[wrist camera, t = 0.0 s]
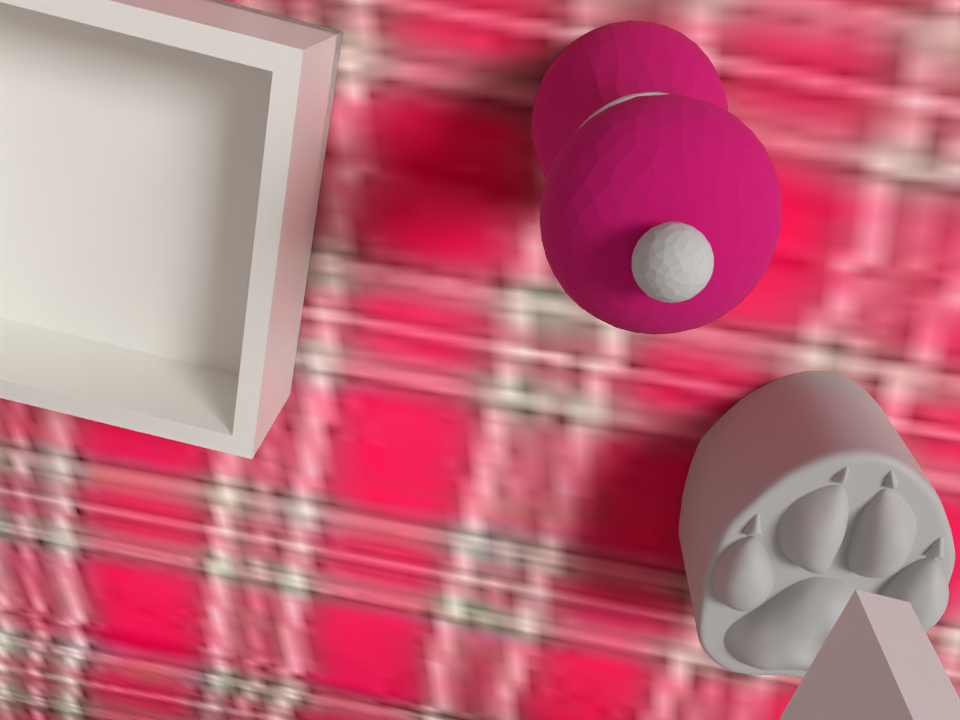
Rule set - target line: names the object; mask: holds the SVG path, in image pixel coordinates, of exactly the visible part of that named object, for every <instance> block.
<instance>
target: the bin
mask: <svg viewBox="0 0 960 720" xmlns="http://www.w3.org/2000/svg"><path fill="white" fill-rule="evenodd" d="M342 35H343V32H342V31H338V30H334V29H330V28H327V27H323V26H319V25H315V24H311V23H307V22H303V21H299V20H295V19H292V18H288V17H284V16H280V15H276V14H272V13H268V12H264V11H261V10H257V9H253V8H249V7H245V6H241V5H237V4H233V3H230V2H226V1H222V0H0V398H3V399H7V400H11V401H15V402H19V403H24V404H28V405H32V406H36V407H40V408H44V409H48V410H52V411H56V412H61V413H65V414H69V415H73V416H77V417H81V418H85V419H89V420H93V421H97V422H102V423H106V424H110V425H114V426H118V427H122V428H126V429H130V430H134V431H139V432H143V433H147V434H151V435H155V436H159V437H163V438H167V439H171V440H176V441H180V442H184V443H188V444H192V445H196V446H200V447H204V448H208V449H213V450H217V451H221V452H225V453H229V454H233V455H237V456H241V457H245V458H249V459H252V458H253V457H254V455H255V453H256V451H257V450H258V448H259V446H260V445H261V443H262V441H263V440H264V438H265V436H266V434H267V433H268V431H269V429H270V428H271V426H272V424H273V423H274V421H275V419H276V417H277V416H278V414H279V412H280V411H281V409H282V407H283V406H284V404H285V402H286V401H287V399H288V397H289V395H290V392H291V385H292V378H293V371H294V364H295V358H296V351H297V344H298V337H299V330H300V323H301V316H302V310H303V303H304V296H305V289H306V282H307V275H308V268H309V262H310V255H311V248H312V241H313V234H314V227H315V220H316V213H317V207H318V200H319V193H320V186H321V179H322V172H323V165H324V159H325V152H326V145H327V138H328V131H329V124H330V117H331V110H332V104H333V97H334V90H335V83H336V76H337V69H338V62H339V56H340V49H341V42H342Z"/></svg>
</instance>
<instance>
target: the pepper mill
mask: <svg viewBox="0 0 960 720" xmlns="http://www.w3.org/2000/svg"><path fill="white" fill-rule="evenodd" d="M532 137H533V144H534V149H535V153H536V156H537V159H538V163H539V166H540V168H541V170H542V172H543V174H544V176H545V178H546V184H545V187H544V190H543V194H542V197H541V209H540V227H541V237H542V242H543V246H544V250H545V254H546V258H547V260H548V262H549V265H550V267H551V269H552V271H553V273H554V275H555V277H556V278H557V280H558V281H559V283H560V284H561V286H562V287H563V289H564V290H565V292H566V293H567V294H568V295H569V296H570V297H571V298H572V299H573V300H574V301H575V302H576V303H577V304H578V305H579V306H580V307H581V308H583V309H584V310H586V311H587V312H589V313H590V314H591V315H593V316H594V317H596V318H598V319H600V320H602V321H604V322H606V323H608V324H610V325H612V326H614V327H616V328H620V329H624V330H628V331H631V332H635V333H645V334H669V333H677V332H681V331H686V330H690V329H695V328H699V327H701V326H703V325H705V324H707V323H709V322H712V321H714V320H716V319H718V318H720V317H722V316H723V315H725V314H726V313H727V312H729V311H730V310H732V309H733V308H734V307H736V306H737V305H738V304H739V303H740V302H741V301H742V300H743V299H744V298H745V297H746V296H747V295H748V294H749V293H750V292H751V291H752V290H753V288H754V287H755V286H756V284H757V283H758V281H759V280H760V278H761V277H762V275H763V274H764V273H765V271H766V270H767V268H768V266H769V263H770V261H771V259H772V256H773V254H774V251H775V249H776V246H777V242H778V238H779V234H780V230H781V221H782V199H781V191H780V184H779V181H778V177H777V174H776V171H775V168H774V165H773V163H772V161H771V159H770V157H769V155H768V154H767V152H766V150H765V148H764V146H763V145H762V143H761V142H760V141H759V140H758V138H757V137H756V136H755V134H754V133H753V132H752V131H751V130H750V129H749V128H748V127H747V126H746V125H745V124H744V123H742V122H741V121H740V120H739V119H738V118H737V117H735V116H734V115H732V114H731V113H729V112H728V105H727V100H726V95H725V91H724V88H723V86H722V83H721V81H720V78H719V76H718V73H717V71H716V70H715V68H714V66H713V65H712V63H711V61H710V60H709V58H708V57H707V56H706V54H705V53H704V52H703V51H702V50H701V49H700V48H699V47H698V46H697V44H696V43H694V42H693V41H691V40H690V39H689V38H687V37H686V36H684V35H683V34H682V33H680V32H678V31H676V30H673V29H671V28H669V27H667V26H664V25H660V24H656V23H652V22H642V21H625V22H618V23H612V24H608V25H605V26H602V27H599V28H597V29H594V30H592V31H590V32H588V33H586V34H585V35H583V36H581V37H579V38H578V39H577V40H575V41H574V42H573V43H571V44H570V45H569V46H568V47H567V48H566V49H565V50H564V51H563V52H562V53H561V54H560V55H559V56H558V57H557V58H556V59H555V60H554V62H553V63H552V64H551V66H550V67H549V68H548V70H547V72H546V74H545V75H544V77H543V79H542V81H541V83H540V85H539V88H538V91H537V94H536V97H535V100H534V106H533V111H532Z"/></svg>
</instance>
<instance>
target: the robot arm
mask: <svg viewBox="0 0 960 720" xmlns="http://www.w3.org/2000/svg"><path fill="white" fill-rule="evenodd" d="M779 720H960V699H959V697H958V695H957V693H956V691H955V689H954V687H953V685H952V683H951V681H950V680H949V678H948V676H947V674H946V672H945V670H944V668H943V666H942V664H941V662H940V660H939V658H938V656H937V654H936V652H935V650H934V648H933V646H932V644H931V642H930V641H929V639H928V637H927V635H926V633H925V631H924V629H923V627H922V625H921V623H920V621H919V619H918V617H917V615H916V613H915V611H914V609H913V607H912V605H911V603H910V602H906V601H902V600H898V599H894V598H890V597H886V596H882V595H878V594H873V593H869V592H865V591H861V590H857V589H855V591H854V593H853V594H852V596H851V598H850V599H849V601H848V603H847V604H846V606H845V608H844V610H843V611H842V613H841V615H840V616H839V618H838V620H837V622H836V623H835V625H834V627H833V628H832V630H831V632H830V633H829V635H828V637H827V639H826V640H825V642H824V644H823V645H822V647H821V649H820V650H819V652H818V654H817V656H816V657H815V659H814V661H813V662H812V664H811V666H810V667H809V669H808V671H807V673H806V674H805V676H804V678H803V679H802V681H801V683H800V684H799V686H798V688H797V690H796V691H795V693H794V695H793V696H792V698H791V700H790V702H789V703H788V705H787V707H786V708H785V710H784V712H783V713H782V715H781V717H780V719H779Z"/></svg>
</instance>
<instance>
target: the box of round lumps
mask: <svg viewBox="0 0 960 720" xmlns="http://www.w3.org/2000/svg"><path fill="white" fill-rule="evenodd" d="M679 539H680V544H681V550H682V555H683V560H684V565H685V571H686V576H687V581H688V587H689V592H690V597H691V602H692V607H693V612H694V617H695V622H696V628H697V633H698V637H699V641H700V643H701V645H702V647H703V649H704V650H705V651H706V653H707V654H708V655H709V656H710V657H711V658H712V659H713V660H714V661H715V662H716V663H717V664H719V665H720V666H722V667H723V668H725V669H728V670H730V671H734V672H737V673H742V674H750V675H786V676H795V677H801V678H804V676H805V674H806V673H807V671H808V669H809V667H810V666H811V664H812V662H813V661H814V659H815V657H816V656H817V654H818V652H819V650H820V649H821V647H822V645H823V644H824V642H825V640H826V639H827V637H828V635H829V633H830V632H831V630H832V628H833V627H834V625H835V623H836V622H837V620H838V618H839V616H840V615H841V613H842V611H843V610H844V608H845V606H846V604H847V603H848V601H849V599H850V598H851V596H852V594H853V593H854V591H855V589H857V590H861V591H865V592H869V593H873V594H878V595H882V596H886V597H890V598H894V599H898V600H902V601H906V602H910V603H911V605H912V607H913V609H914V611H915V613H916V615H917V617H918V619H919V621H920V623H921V625H922V627H923V629H924V631H925V633H927V631H928V629H930V628H931V627H933V626H934V625H935V624H936V623H937V622H938V620H939V619H940V618H941V616H942V615H943V613H944V611H945V609H946V607H947V604H948V599H949V589H948V584H949V581H950V577H951V574H952V571H953V567H954V561H955V549H954V543H953V538H952V533H951V529H950V526H949V522H948V519H947V516H946V514H945V511H944V508H943V505H942V503H941V501H940V499H939V497H938V495H937V493H936V491H935V490H934V488H933V487H932V485H931V483H930V482H929V480H928V479H927V477H926V476H925V474H924V473H923V471H922V470H921V468H920V466H919V465H918V463H917V462H916V460H915V459H914V457H913V456H912V454H911V453H910V451H909V450H908V448H907V447H906V445H905V444H904V442H903V441H902V439H901V438H900V436H899V435H898V433H897V432H896V430H895V429H894V427H893V425H892V424H891V422H890V421H889V419H888V418H887V416H886V415H885V413H884V412H883V410H882V409H881V407H880V406H879V405H878V403H877V402H876V401H875V400H874V399H873V398H872V397H871V396H870V395H869V394H868V393H867V392H866V391H865V390H864V389H863V388H862V387H860V386H859V385H858V384H856V383H855V382H853V381H852V380H850V379H848V378H846V377H844V376H842V375H839V374H835V373H831V372H824V371H806V372H800V373H795V374H791V375H788V376H785V377H782V378H780V379H777V380H775V381H772V382H770V383H768V384H766V385H764V386H762V387H760V388H758V389H756V390H754V391H753V392H751V393H749V394H748V395H746V396H745V397H744V398H742V399H741V400H740V401H739V402H737V403H736V404H735V405H734V406H733V407H732V408H730V409H729V410H728V411H727V412H726V413H725V414H724V415H723V416H722V417H721V418H720V419H719V420H718V421H717V422H716V423H715V424H714V425H713V426H712V427H711V428H710V429H709V430H708V431H707V433H706V434H705V435H704V436H703V437H702V439H701V440H700V442H699V444H698V446H697V448H696V451H695V453H694V456H693V459H692V462H691V465H690V468H689V471H688V475H687V479H686V482H685V487H684V491H683V496H682V502H681V512H680V519H679Z"/></svg>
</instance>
